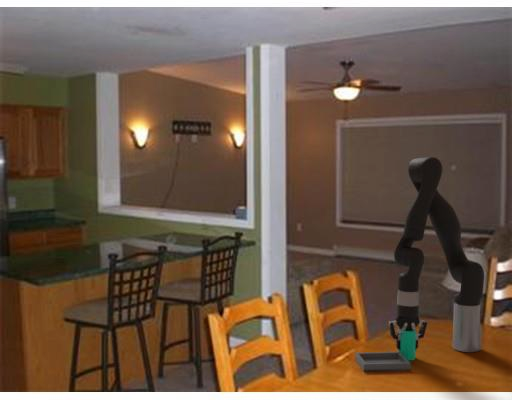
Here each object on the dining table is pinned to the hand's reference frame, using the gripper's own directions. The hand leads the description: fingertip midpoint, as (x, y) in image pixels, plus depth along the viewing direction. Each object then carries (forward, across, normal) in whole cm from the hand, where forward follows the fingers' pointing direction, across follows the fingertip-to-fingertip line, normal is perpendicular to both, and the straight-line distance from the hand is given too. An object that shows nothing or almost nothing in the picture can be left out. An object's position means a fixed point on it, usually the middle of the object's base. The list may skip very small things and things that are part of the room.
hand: (406, 349), depth 222 cm
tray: (+3, +11, +7) cm, 13 cm away
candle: (+3, 0, 0) cm, 3 cm away
